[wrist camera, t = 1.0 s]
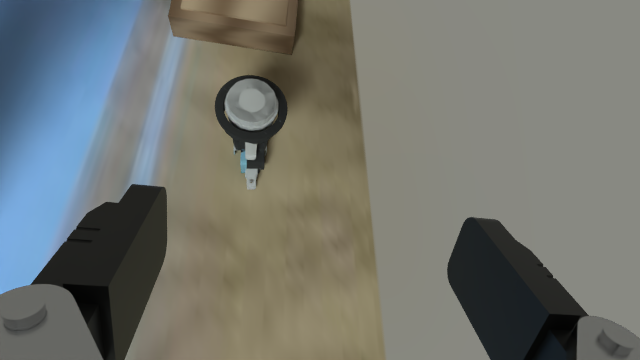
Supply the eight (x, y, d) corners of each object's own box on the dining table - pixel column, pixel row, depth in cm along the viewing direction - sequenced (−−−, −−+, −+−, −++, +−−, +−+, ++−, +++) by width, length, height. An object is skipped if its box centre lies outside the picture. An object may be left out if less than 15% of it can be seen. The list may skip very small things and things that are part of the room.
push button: (279, 190, 38) (290, 152, 28) (220, 191, 37) (212, 151, 27) (277, 125, 40) (287, 69, 30) (221, 124, 39) (214, 66, 29)
